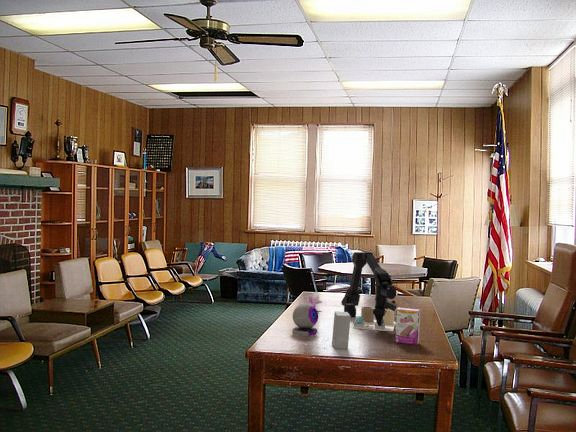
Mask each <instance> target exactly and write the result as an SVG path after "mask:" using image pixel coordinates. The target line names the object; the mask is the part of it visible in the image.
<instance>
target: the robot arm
mask: <svg viewBox="0 0 576 432" xmlns="http://www.w3.org/2000/svg"><path fill="white" fill-rule="evenodd" d="M351 261H352V264H353V270H352V274H351V280H350V283H349V288H348V289H347V290H346V291H345V294H344V297H343V298H342V300H341V306H343V312H348V314H349V315H350V316H351V318H356V317H357V316H356V315H357V307H358V306H359V303H360V298H361V294H360V293H359V287H360V282H361V277H362V273H363V268H364V267H365V266H366V264H367V266H368V267H369V268H370V270H371V272H372V277H373V278H372V279H373V280H374V282H375V284H373V285H374V287H375V298H374V301H375V305H374V310H373V314H374V319H375V320H377V323H378V326H381V322H382V319H383V316H384V315H385V313H386V312H387V311H386V310H388V309H391V310H392V311H394V312H396V309H397V308H398V304H397V303H396V301H395V300H394V299H395V298H396V297H397V291H396V289H395V288H394V286H393V281H392V280H391V276H390V274H389V273H388V271H387V270H386V269H384V268H382V267H381V265H380V264H379V262H378V261H377V260H376V258H375V257H374V253H373V252H371V251H355V252H354V253H353V254H352V256H351ZM388 299H389V300H388ZM390 300H391V301H390ZM385 309H386V310H385Z"/></svg>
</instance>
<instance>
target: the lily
mask: <svg viewBox="0 0 576 432" xmlns="http://www.w3.org/2000/svg"><path fill="white" fill-rule="evenodd" d="M319 298H320V296H317V297H315V298H314V297H313V296H311V295H310V294H308V295H307V300H306V301H303V302H301V304H303V303H308V304H311V305H313V306H314V307H315V308H316V309H317V307H316V306H317V305H319V304H322V303H323V301H322V300H319Z"/></svg>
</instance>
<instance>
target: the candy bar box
mask: <svg viewBox="0 0 576 432" xmlns="http://www.w3.org/2000/svg"><path fill="white" fill-rule="evenodd" d="M395 322H396V325H395V327H394V329H395V331H394V343H396V344H397V343H398V344H406V345H414V346H417V345H419V342H420V325H421V324H420V323H421V309H415V308H408V307H407V308H406V307H396V310H395Z"/></svg>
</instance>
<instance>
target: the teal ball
mask: <svg viewBox="0 0 576 432" xmlns="http://www.w3.org/2000/svg"><path fill="white" fill-rule="evenodd" d="M355 320H356V322H357V323H358V324H361V323H362V322H363V318H362V317H361V315H358V316H355Z"/></svg>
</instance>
